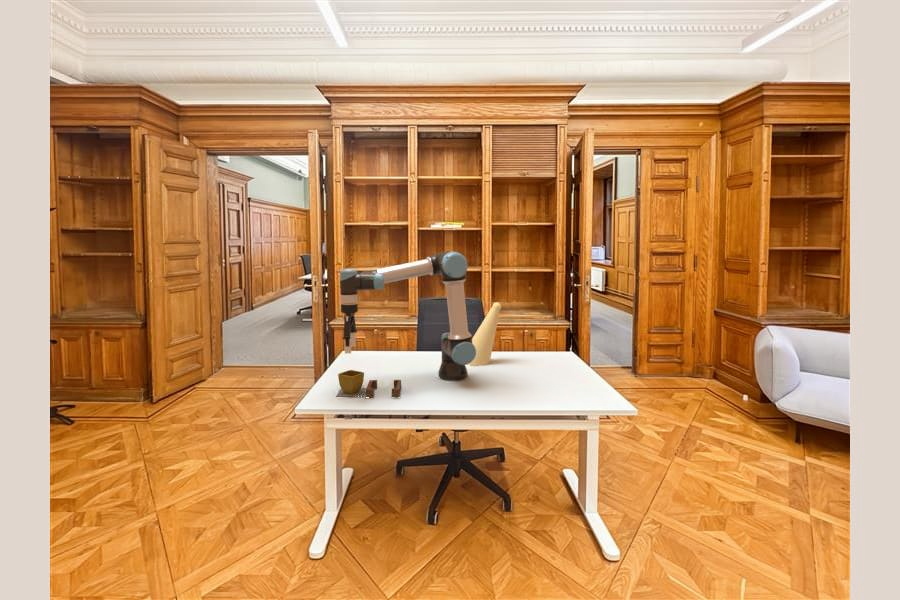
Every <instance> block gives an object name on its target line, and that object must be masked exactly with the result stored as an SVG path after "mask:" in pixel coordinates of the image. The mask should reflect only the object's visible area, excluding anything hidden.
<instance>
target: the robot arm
mask: <svg viewBox="0 0 900 600" xmlns="http://www.w3.org/2000/svg"><path fill="white" fill-rule="evenodd" d="M468 265H469V264H468V260H467V258H466V257H465V255H463V254H462V253H460V252H457V251H449V250H448V251H442V252H439V253H437V254H433V255H428V256H427V257H426V258H425V259H424V258H423V259H421V260H420V259H419V260H415V261H409V262H405V263H400V264H396V265H390V266H386V267H382V268H377V269H373V270H372V269H371V270H364V271H362V272H361V273H358V271H357V269H353V268H349V269H347V268H346V269H341V270H340V271H339V290H340V291H339V293H340V295H339V296H338V297H339V299H340V313H342V314H345V316H343V319H344V320H343V321H344V322H343V323H344V324H343V336H342V340H344V354H352V348H354V347H355V348H356V346H357V343H356V342H357V340H356V336H357V335H356V333H358V330H357V325H356V318H355V317H356V316H355V314H356V313H357V312H358V311H359V309H358V308H359V305H358V302H359V300H358V299H359V297H358V291H372V290H373V291H374V290H375V291H377V290H383V289H384V287H385V284H389V283H392V282H397V281H403V280H407V279H413V278H417V277H418V278H419V277H422V276H426V275H430V276H437V275H440V277H441V282H442V283H443V284H444V285H445V293H446V303H447V304H446V305H447V310H448V311H447V313H448V319H449V320H448V323H449V331H450V332H444V333H442V335H441V362H440V366H439V370H438V373H437V375H438V376H439V377H440V378H439V377H438V378H439V379H441V378H442V379H441V380H444V379H446V380H445V381H462V380H465V379H468V377H469V376H468V370H467V366H465V365H466V364H469V363H470V362H472V361H473V359H474V358H475V356H476V349H475V347H474V345H473V344H472V338H473V335H472V334H471V333H470V331H469V326H468V318H467V305H466V295H465V287H464V283H465V281H466V280H467V276H466V275H467V271H468V268H469V266H468ZM461 379H462V380H461Z"/></svg>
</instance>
